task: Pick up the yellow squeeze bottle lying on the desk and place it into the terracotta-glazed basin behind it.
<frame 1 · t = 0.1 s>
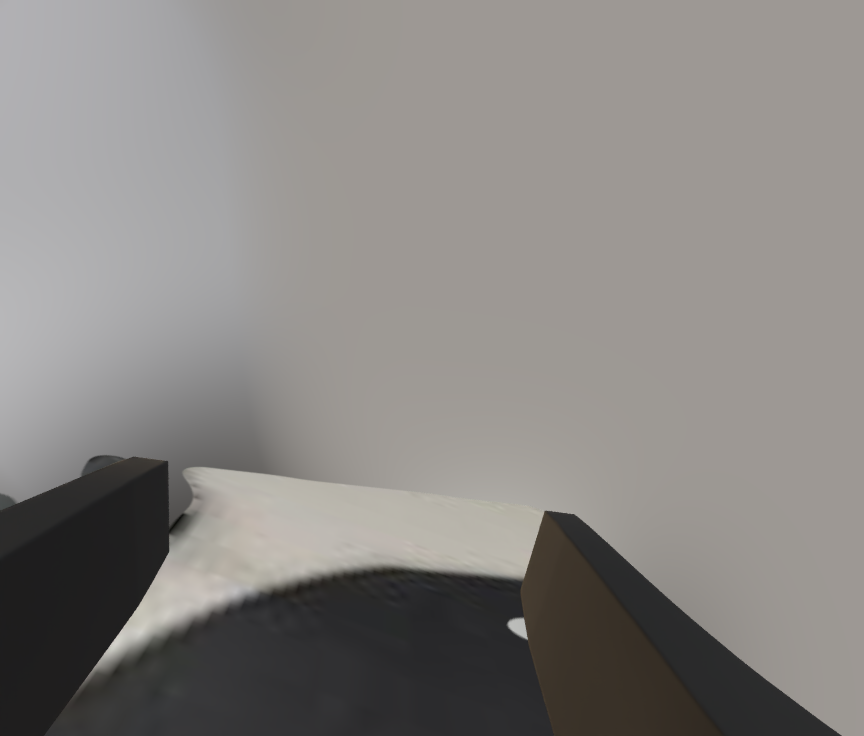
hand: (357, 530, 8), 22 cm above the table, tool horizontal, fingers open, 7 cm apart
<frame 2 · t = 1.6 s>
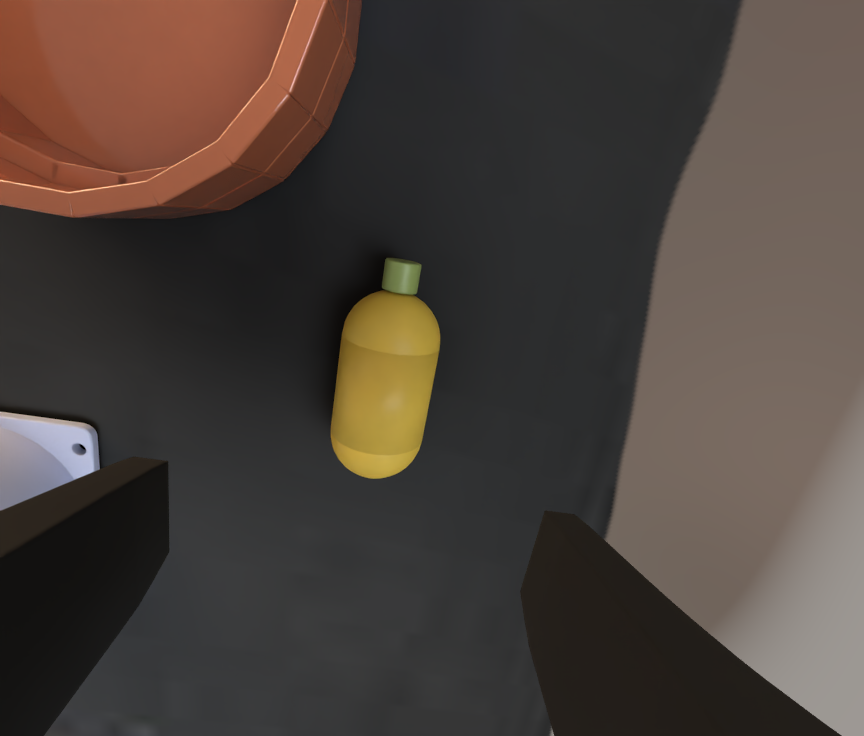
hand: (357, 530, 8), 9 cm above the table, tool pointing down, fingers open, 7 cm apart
yellow squeeze bottle: (387, 371, 17), on the table
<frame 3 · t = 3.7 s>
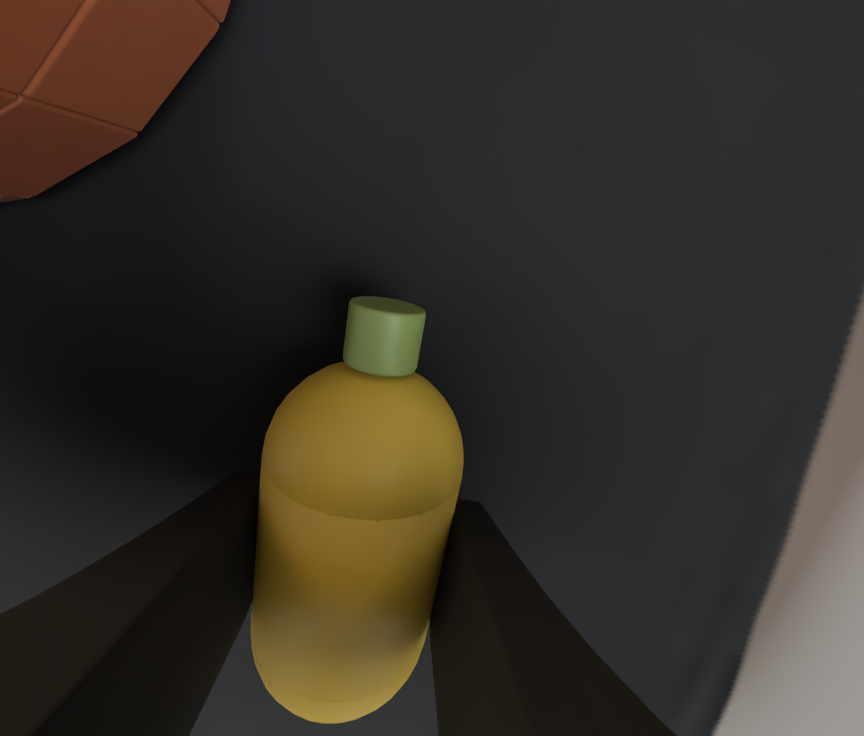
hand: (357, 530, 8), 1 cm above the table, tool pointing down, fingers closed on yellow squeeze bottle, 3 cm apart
yellow squeeze bottle: (363, 487, 10), on the table, touching gripper
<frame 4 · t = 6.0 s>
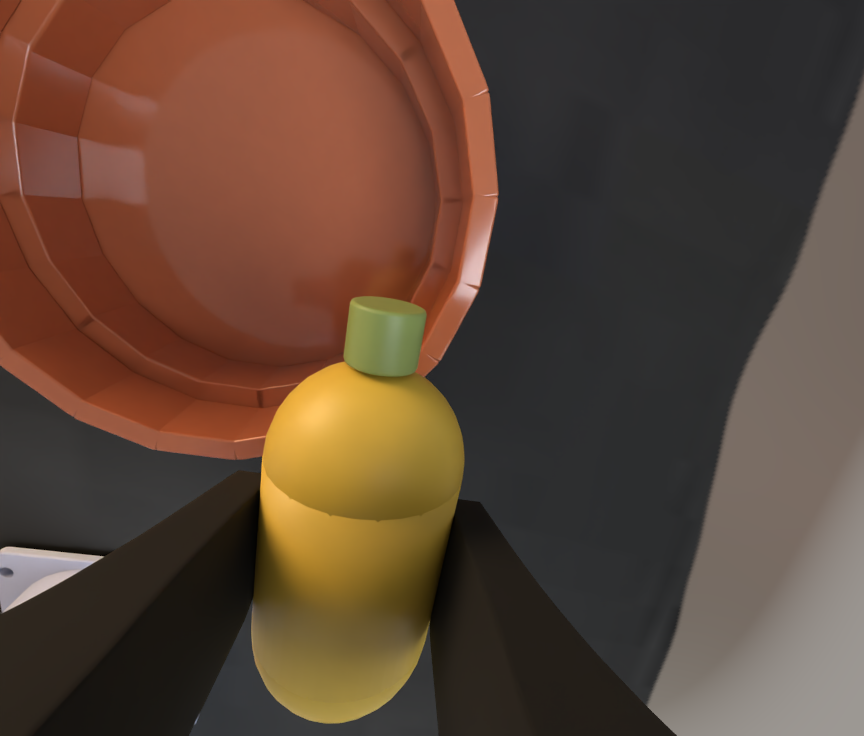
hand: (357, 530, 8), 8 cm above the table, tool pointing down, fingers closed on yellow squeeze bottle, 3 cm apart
basin: (268, 201, 14), on the table
yellow squeeze bottle: (364, 487, 10), point 7 cm above the table, touching gripper
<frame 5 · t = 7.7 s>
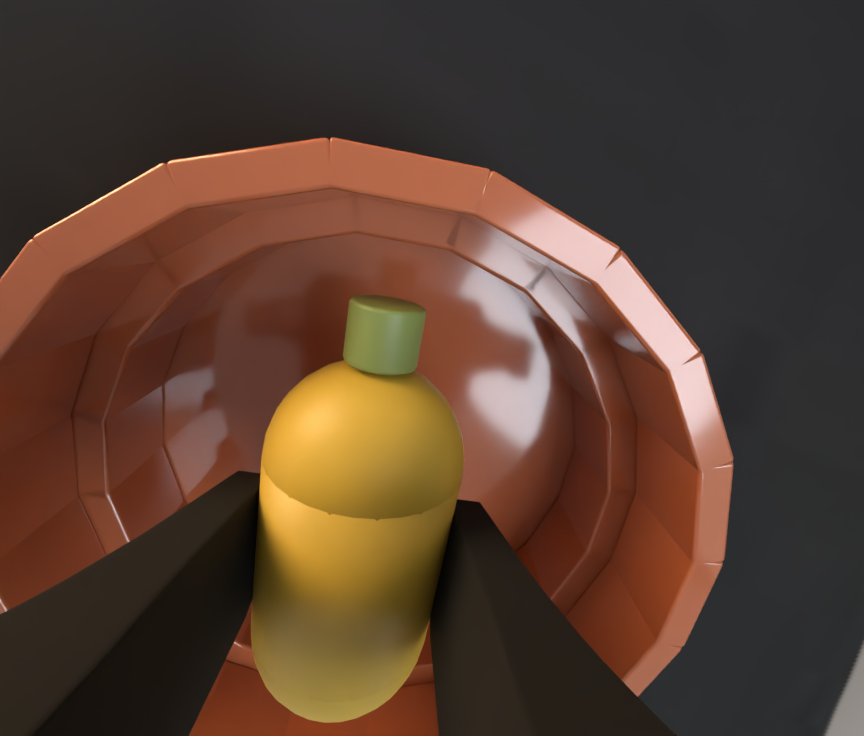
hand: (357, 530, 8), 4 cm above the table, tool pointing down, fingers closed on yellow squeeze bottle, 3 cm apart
basin: (375, 433, 12), on the table
yellow squeeze bottle: (363, 486, 10), point 3 cm above the table, touching gripper
when the fingers open (2 cm above the table, at t = 8.7 s): yellow squeeze bottle stays where it is, resting on basin.
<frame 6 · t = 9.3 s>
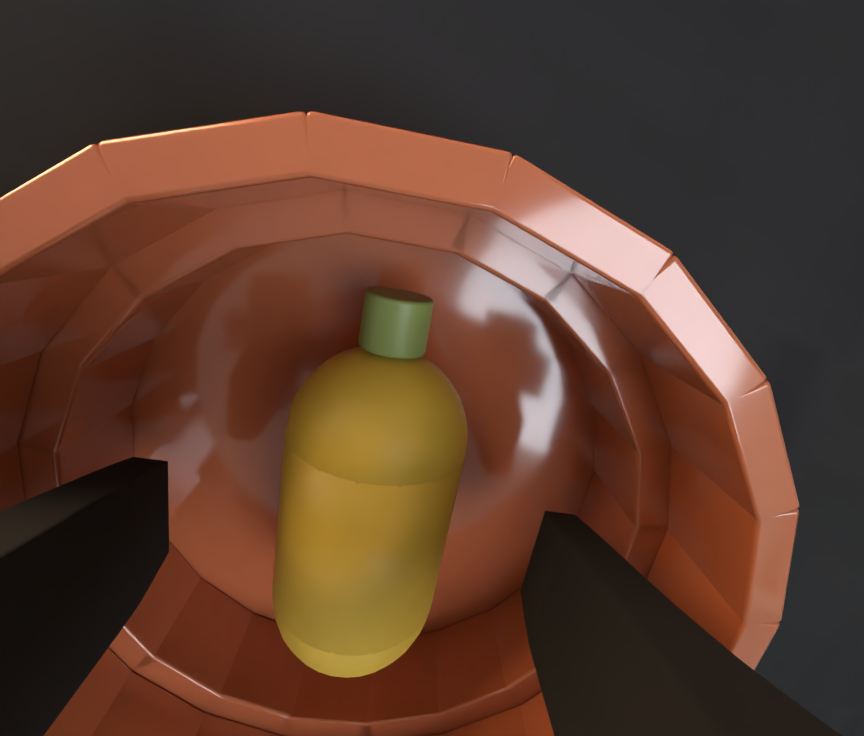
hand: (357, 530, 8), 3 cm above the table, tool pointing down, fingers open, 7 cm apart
basin: (371, 455, 11), on the table
yellow squeeze bottle: (368, 466, 10), point 1 cm above the table, touching basin
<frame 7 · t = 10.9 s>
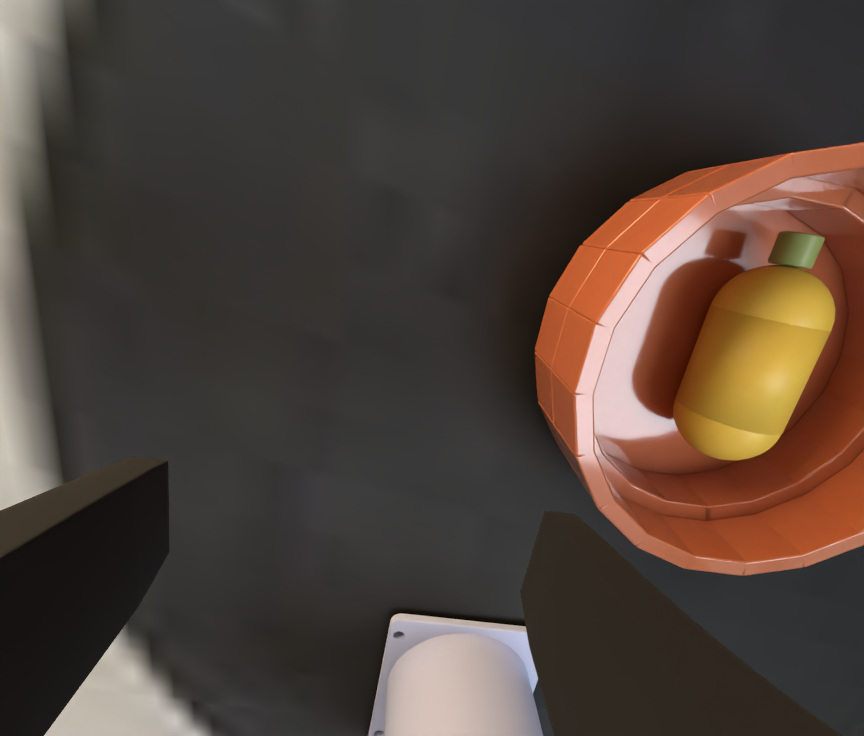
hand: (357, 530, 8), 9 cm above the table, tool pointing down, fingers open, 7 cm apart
basin: (695, 347, 17), on the table
yellow squeeze bottle: (705, 351, 17), point 1 cm above the table, tilted 14°, touching basin
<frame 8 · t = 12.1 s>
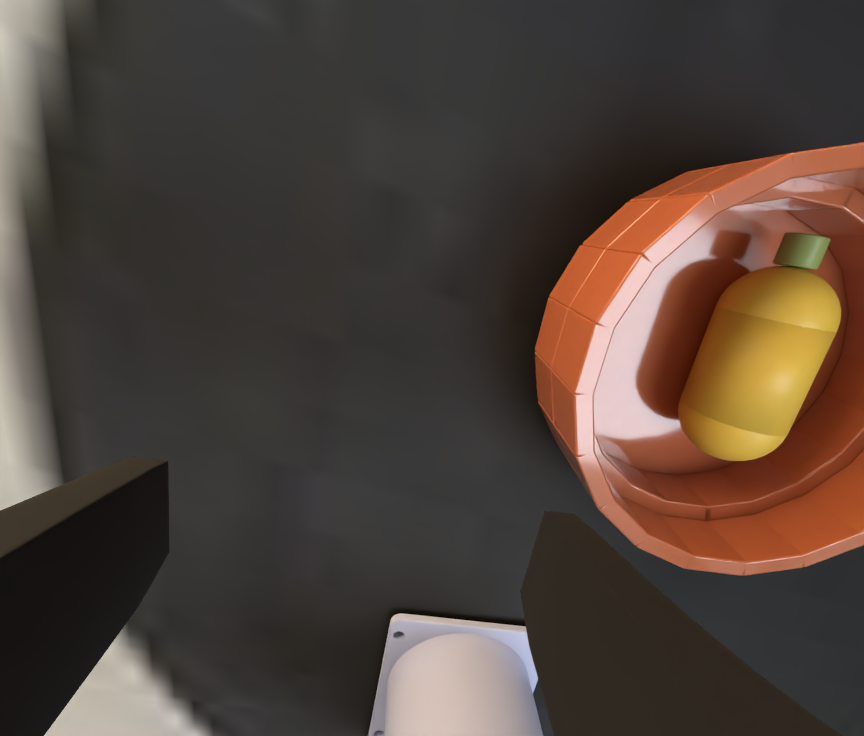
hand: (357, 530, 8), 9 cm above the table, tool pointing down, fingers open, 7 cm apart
basin: (695, 347, 17), on the table
yellow squeeze bottle: (706, 351, 17), point 1 cm above the table, tilted 21°, touching basin
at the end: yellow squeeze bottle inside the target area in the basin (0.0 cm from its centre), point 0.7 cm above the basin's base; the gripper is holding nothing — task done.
